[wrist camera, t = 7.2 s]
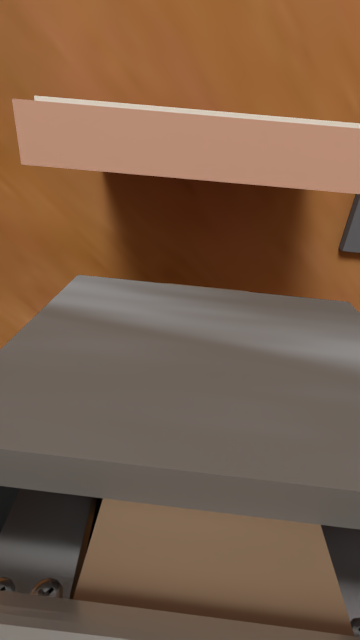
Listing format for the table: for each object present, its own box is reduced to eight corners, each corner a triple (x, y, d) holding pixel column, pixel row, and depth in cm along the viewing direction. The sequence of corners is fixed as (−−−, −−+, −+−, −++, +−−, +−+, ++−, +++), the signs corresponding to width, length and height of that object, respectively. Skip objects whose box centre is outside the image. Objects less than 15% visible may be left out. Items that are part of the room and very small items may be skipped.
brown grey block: (289, 391, 13) (448, 858, 5) (104, 371, 14) (-84, 777, 5) (325, 277, 11) (847, 832, 2) (98, 255, 11) (-324, 663, 2)
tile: (298, 178, 16) (383, 196, 8) (101, 161, 16) (21, 164, 9) (307, 141, 15) (408, 125, 8) (99, 123, 15) (10, 91, 8)
